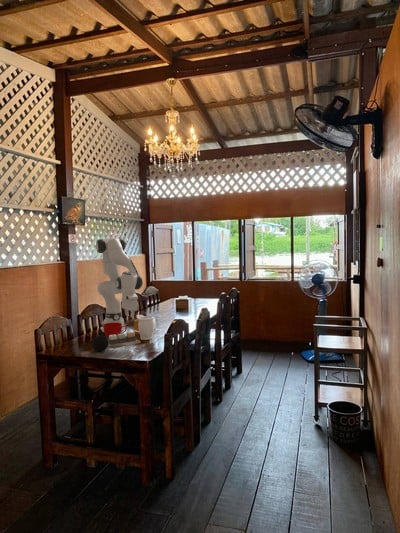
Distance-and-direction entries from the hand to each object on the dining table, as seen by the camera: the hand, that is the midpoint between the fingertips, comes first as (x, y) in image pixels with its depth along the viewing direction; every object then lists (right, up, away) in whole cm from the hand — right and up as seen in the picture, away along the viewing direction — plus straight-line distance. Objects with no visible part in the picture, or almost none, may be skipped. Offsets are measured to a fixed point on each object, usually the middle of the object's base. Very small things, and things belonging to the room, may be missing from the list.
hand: (129, 316), depth 263 cm
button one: (-10, -15, -5) cm, 19 cm away
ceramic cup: (-13, -18, +14) cm, 26 cm away
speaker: (-15, -20, -20) cm, 31 cm away
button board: (-5, -18, -2) cm, 19 cm away
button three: (0, -14, +1) cm, 14 cm away
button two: (-5, -15, -2) cm, 15 cm away
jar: (+10, -17, +10) cm, 22 cm away
